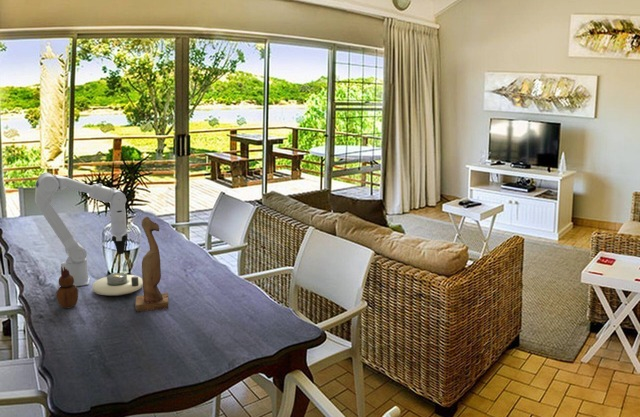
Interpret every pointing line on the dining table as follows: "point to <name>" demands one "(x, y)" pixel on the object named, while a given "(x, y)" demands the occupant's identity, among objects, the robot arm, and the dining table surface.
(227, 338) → the dining table surface
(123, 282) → the cover
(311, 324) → the dining table surface
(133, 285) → the turntable
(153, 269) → the bird sculpture
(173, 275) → the dining table surface
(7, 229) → the dining table surface
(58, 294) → the wooden figurine
